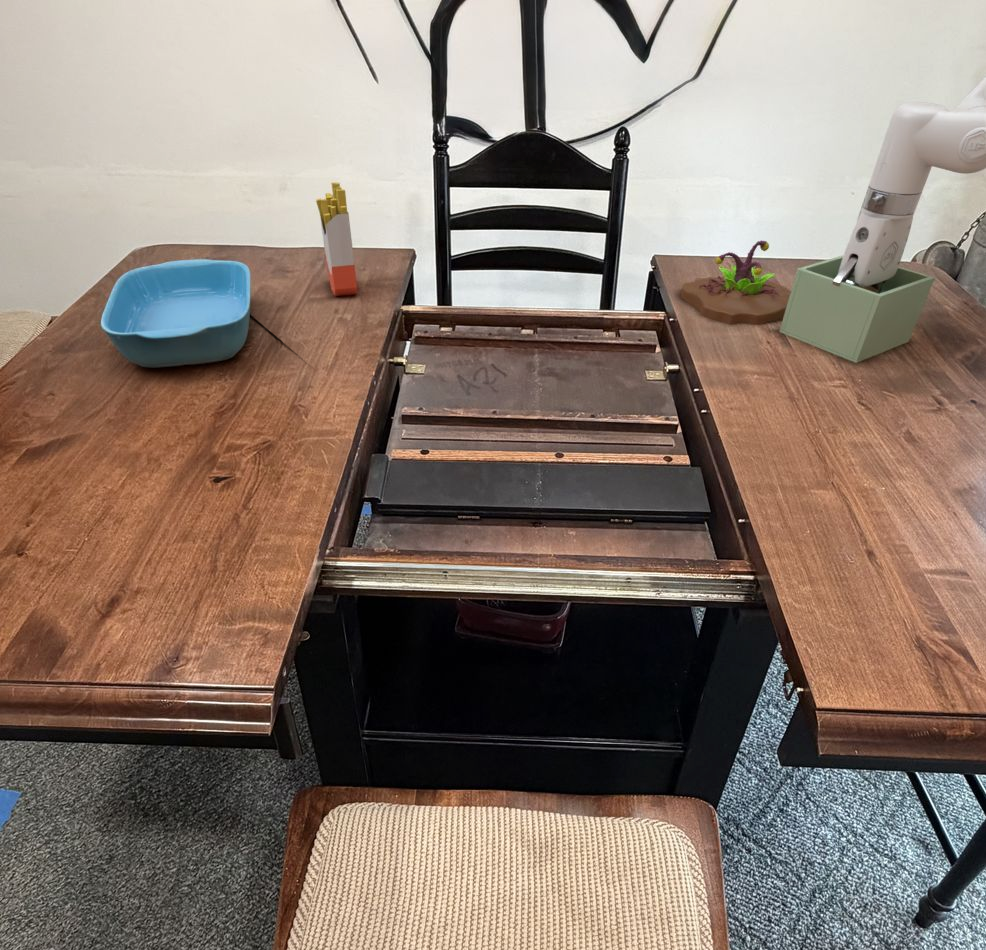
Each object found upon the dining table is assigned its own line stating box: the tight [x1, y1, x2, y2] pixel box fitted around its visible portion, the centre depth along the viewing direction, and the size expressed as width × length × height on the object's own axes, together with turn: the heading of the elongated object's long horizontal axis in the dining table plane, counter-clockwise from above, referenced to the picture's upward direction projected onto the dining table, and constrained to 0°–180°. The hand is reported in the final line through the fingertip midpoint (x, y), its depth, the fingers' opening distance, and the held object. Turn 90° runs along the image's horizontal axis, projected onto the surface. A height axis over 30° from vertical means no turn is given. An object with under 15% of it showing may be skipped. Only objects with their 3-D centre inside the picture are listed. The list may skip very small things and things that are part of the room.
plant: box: [680, 240, 791, 326], centre depth 129 cm, size 20×20×11 cm
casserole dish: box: [100, 258, 252, 369], centre depth 118 cm, size 37×22×7 cm, turn 14°
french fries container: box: [315, 181, 358, 297], centre depth 130 cm, size 5×11×18 cm, turn 17°
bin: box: [779, 254, 936, 364], centre depth 118 cm, size 15×15×11 cm
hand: (848, 319), depth 120 cm, fingers closed on paper cup, 6 cm apart
